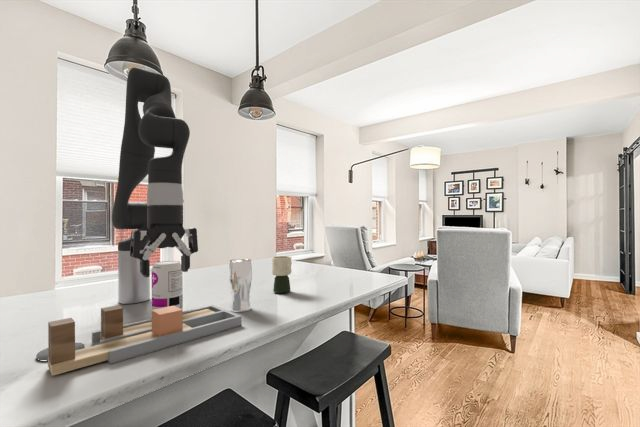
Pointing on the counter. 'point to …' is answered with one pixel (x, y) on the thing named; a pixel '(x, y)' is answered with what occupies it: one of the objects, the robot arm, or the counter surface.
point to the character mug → (281, 273)
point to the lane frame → (198, 329)
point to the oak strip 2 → (114, 326)
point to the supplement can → (167, 285)
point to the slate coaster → (45, 353)
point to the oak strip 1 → (69, 359)
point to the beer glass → (240, 284)
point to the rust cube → (167, 320)
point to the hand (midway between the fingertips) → (166, 274)
